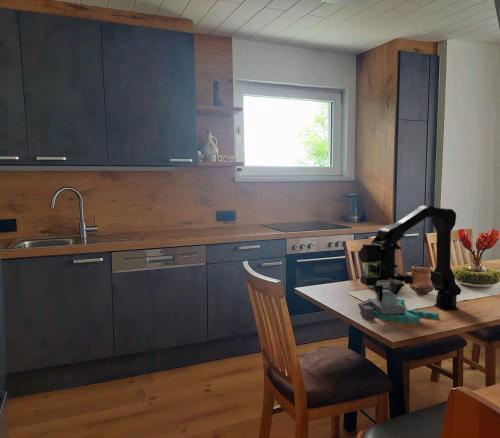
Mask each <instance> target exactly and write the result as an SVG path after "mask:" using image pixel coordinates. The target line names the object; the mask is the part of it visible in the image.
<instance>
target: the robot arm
mask: <svg viewBox="0 0 500 438" xmlns="http://www.w3.org/2000/svg"><path fill="white" fill-rule="evenodd" d="M427 218H430V219H431V220H432V225H433V227H434V228H435V231H436V267H435V269H434V270H430V279H429V281H431V285H432V286H433V288H434V290H435V291H437V293H436V294H437V295H436V299H435V303H434V306H436V307H438V308H439V309H441V310H443V311H451V310H453V311H455V310H460V307H457V297H458V296H460V295H461V293H462V288H460V286H458V284H457V283H456V278H455V274H454V272H453V270H452V268H451V254H452V252H451V249H452V248H451V247H452V246H451V245H452V244H451V242H452V237H451V235H452V230H453V229H454V227H455V225H456V221H457V212H456V211H455V210H454V209H451V208H444V207H435V206H432V205H428V204H427V205H426V204H422V205H420V206H418V208H416V209H415V210H413V211H412V212H410V213H409V214H407V215H406V216H404V217H402V218H401V219H400V220H398V221H397V222H394V223H391V224H386V225H385V226H382V227H381V228H379V229H378V230H377V234H376V236H375V237H374V239H372V241H371V243H369V244H362V247H361V248H360V250H359V253H358V256H359V260H360V262H361V263H363V264H364V263H368V262H378V261H379V262H378V263H377V266H374V265H368V273H372V274H373V276H372V275H364V274H361V277H360V283H361V284H363V285H364V286H366V287H367V286H373V287H374V288H373V289H374V290H375V293H376V295H377V297H378V300H379V302H381V301H382V292H383V289H384V288H383V286H382V285H381V282H389V284H390V287H391V288H390V292H392V293H393V294H395V295H398V294H399V292H400V290H401V289H402V288H403V287H405V285H409V284H411V285H412V284H414V277H413V275H411V274H408V273H405V272H400V273H396V268H398V264H396V253H397V252H396V251H397V250H401V249H402V247H401V246H400V245H399V244H398V242H399V241H401V239H402V238H403V236H404V234H405V233H406V232H407V231H409V230H410V229H412V228H413V227H415V226H416V225H418V224H419V223H421V222H423V221H424V220H426V219H427ZM374 275H376V276H379V277H374ZM382 279H383V280H382ZM404 283H405V284H404Z"/></svg>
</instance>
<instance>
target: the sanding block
mask: <svg viewBox="0 0 500 438" xmlns="http://www.w3.org/2000/svg"><path fill="white" fill-rule="evenodd" d="M397 295H398V294H397ZM397 295H395V294H393V293H392V292H391V290H389V289H384V290H383V292H382V301H381V302H379V300H378V297H377V294H376V298H368V299H367V300H368V301H371V303H372V305H373V308H374V309H376V310H377V311H378V312H380V313H381V314H398V313H405V308H406V307H405V306H404V307H403V306H402V305H400V304H399V303H397V302H396V300H397V299H398V298H397V297H398V296H397Z"/></svg>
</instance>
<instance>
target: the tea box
mask: <svg viewBox="0 0 500 438" xmlns="http://www.w3.org/2000/svg"><path fill="white" fill-rule="evenodd" d="M378 262H379V261H378ZM378 262H368V263H363V275H372V276H373V274H372V273H368V265H374V266H377V263H378ZM374 277H379V276H376V275H374ZM382 280H383V279H382ZM381 285H382V286H383V289H389V288H390V282H381ZM366 287H367V289H374V287H373V286H366Z"/></svg>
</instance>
